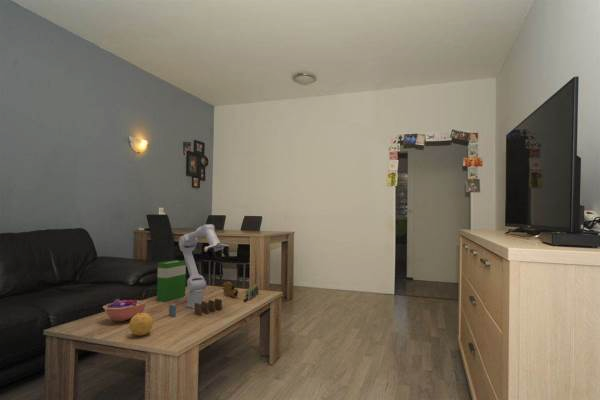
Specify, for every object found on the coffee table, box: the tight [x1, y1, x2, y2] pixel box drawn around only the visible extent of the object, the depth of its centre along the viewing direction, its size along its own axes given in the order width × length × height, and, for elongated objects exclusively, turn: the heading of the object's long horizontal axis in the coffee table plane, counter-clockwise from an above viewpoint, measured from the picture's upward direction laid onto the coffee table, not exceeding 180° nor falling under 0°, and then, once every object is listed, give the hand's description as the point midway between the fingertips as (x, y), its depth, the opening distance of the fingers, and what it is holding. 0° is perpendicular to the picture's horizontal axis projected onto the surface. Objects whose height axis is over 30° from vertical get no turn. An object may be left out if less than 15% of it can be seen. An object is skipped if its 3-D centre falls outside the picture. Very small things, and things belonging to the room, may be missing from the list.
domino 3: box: [201, 300, 209, 315], centre depth 195 cm, size 1×5×6 cm, turn 49°
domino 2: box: [193, 303, 202, 317], centre depth 191 cm, size 1×5×6 cm, turn 49°
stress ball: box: [128, 311, 154, 337], centre depth 159 cm, size 10×10×10 cm
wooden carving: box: [222, 281, 239, 298], centre depth 234 cm, size 16×5×10 cm, turn 49°
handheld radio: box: [242, 284, 259, 303], centre depth 231 cm, size 7×3×25 cm
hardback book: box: [156, 259, 187, 303], centre depth 228 cm, size 18×7×24 cm, turn 158°
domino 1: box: [168, 303, 177, 318], centre depth 189 cm, size 1×5×6 cm, turn 49°
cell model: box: [102, 298, 146, 322], centre depth 181 cm, size 17×20×11 cm
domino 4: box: [207, 299, 216, 313], centre depth 198 cm, size 1×5×6 cm, turn 49°
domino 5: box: [214, 298, 223, 312], centre depth 202 cm, size 1×5×6 cm, turn 49°
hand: (222, 259), depth 190 cm, fingers open, 7 cm apart
